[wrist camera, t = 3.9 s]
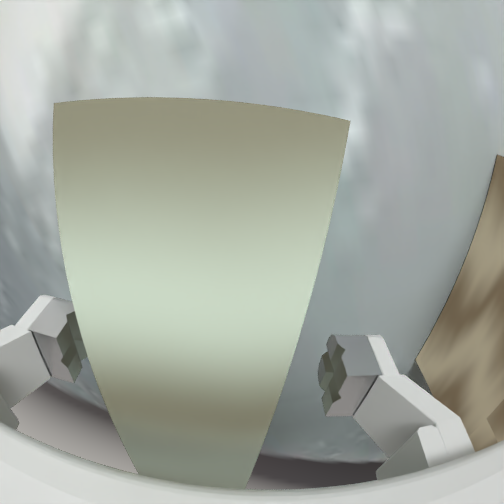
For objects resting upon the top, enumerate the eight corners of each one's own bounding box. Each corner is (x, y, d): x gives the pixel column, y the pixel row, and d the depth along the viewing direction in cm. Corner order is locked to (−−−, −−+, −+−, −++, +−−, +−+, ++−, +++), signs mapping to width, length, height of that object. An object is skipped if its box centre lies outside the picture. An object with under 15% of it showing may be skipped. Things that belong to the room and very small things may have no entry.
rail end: (244, 343, 16) (240, 498, 8) (180, 336, 16) (145, 485, 8) (280, 111, 11) (350, 120, 3) (189, 102, 11) (53, 103, 3)
